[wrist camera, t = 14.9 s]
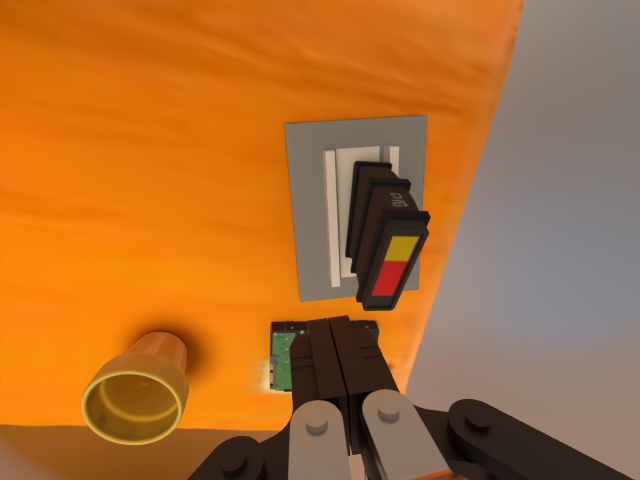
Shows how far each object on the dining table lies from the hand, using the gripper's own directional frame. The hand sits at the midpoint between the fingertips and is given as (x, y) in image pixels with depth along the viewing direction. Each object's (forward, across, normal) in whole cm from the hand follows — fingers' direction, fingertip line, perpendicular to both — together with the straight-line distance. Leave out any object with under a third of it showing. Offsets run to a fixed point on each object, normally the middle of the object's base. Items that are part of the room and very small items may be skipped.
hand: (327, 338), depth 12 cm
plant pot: (+29, +20, +21) cm, 40 cm away
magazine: (+27, -8, +4) cm, 29 cm away
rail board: (+28, -8, +4) cm, 30 cm away
